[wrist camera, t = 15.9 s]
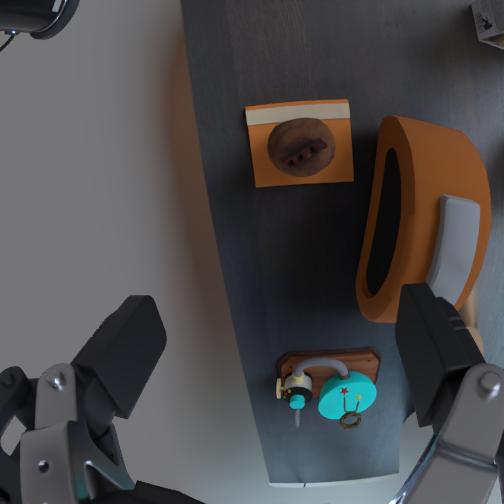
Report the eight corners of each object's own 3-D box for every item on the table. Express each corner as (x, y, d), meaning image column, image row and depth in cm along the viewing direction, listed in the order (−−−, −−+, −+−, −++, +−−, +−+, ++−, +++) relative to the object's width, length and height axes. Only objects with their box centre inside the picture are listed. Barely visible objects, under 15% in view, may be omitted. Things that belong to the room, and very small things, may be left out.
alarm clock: (376, 113, 30) (435, 115, 16) (440, 127, 29) (522, 145, 15) (350, 285, 41) (370, 374, 26) (407, 289, 40) (445, 372, 25)
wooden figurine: (323, 113, 31) (343, 111, 18) (333, 160, 33) (357, 192, 20) (266, 124, 33) (245, 130, 19) (277, 170, 35) (265, 207, 22)
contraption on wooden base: (274, 341, 47) (263, 418, 34) (384, 334, 44) (403, 409, 30) (281, 393, 53) (273, 461, 40) (373, 388, 50) (383, 455, 36)
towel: (256, 186, 37) (255, 187, 36) (245, 107, 33) (244, 107, 32) (353, 180, 35) (354, 181, 34) (347, 99, 30) (348, 99, 30)
